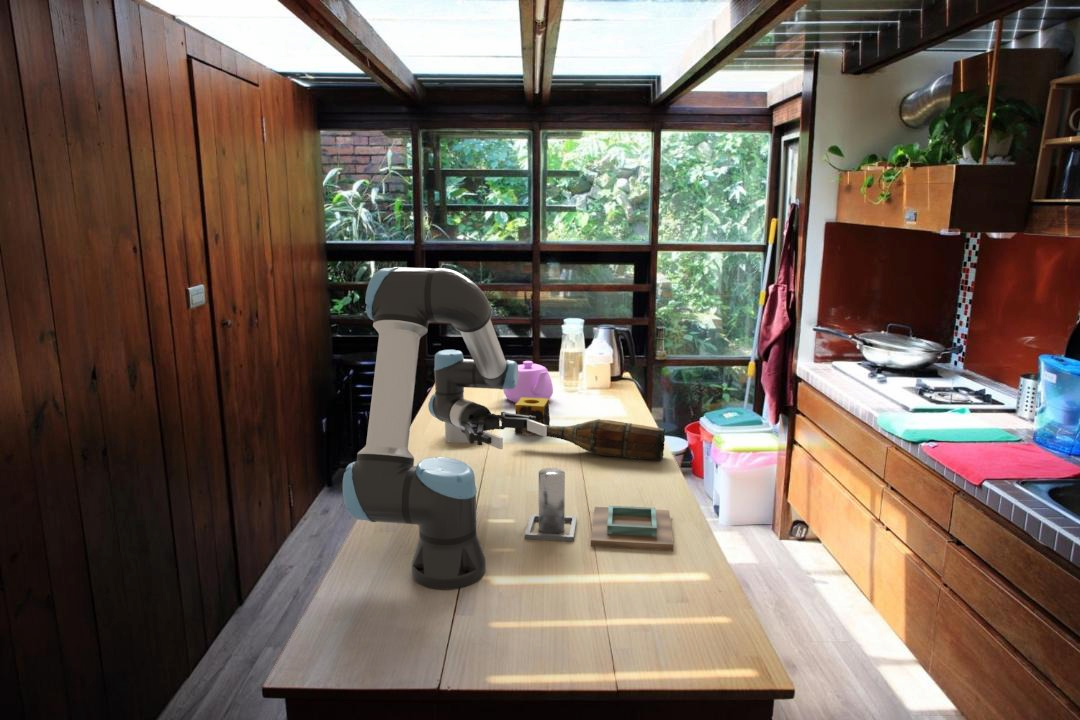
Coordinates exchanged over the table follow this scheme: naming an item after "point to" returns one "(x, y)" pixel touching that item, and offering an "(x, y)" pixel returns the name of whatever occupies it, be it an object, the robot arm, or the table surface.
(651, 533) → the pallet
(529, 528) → the frame
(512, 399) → the teapot
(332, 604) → the table surface
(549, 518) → the billet
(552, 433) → the decorative bottle
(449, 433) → the lumpy-topped squat cylinder
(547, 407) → the candle
